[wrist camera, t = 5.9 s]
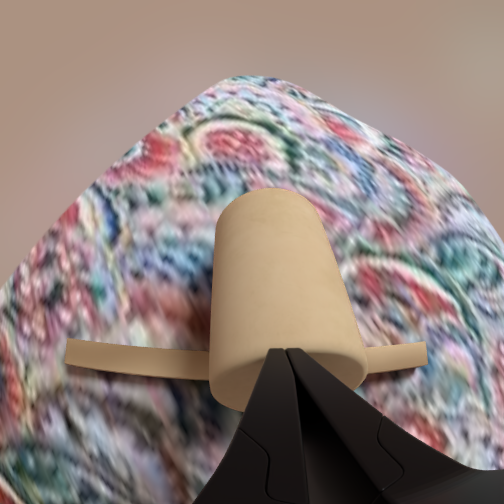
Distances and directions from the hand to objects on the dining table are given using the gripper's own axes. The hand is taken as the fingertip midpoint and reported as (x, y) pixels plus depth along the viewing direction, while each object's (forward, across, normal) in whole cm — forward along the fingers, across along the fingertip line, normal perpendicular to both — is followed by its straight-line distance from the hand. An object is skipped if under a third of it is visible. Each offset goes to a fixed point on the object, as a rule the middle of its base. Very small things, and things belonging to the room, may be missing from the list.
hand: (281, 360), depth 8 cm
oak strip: (+6, 0, +5) cm, 8 cm away
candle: (+1, -1, +2) cm, 2 cm away
